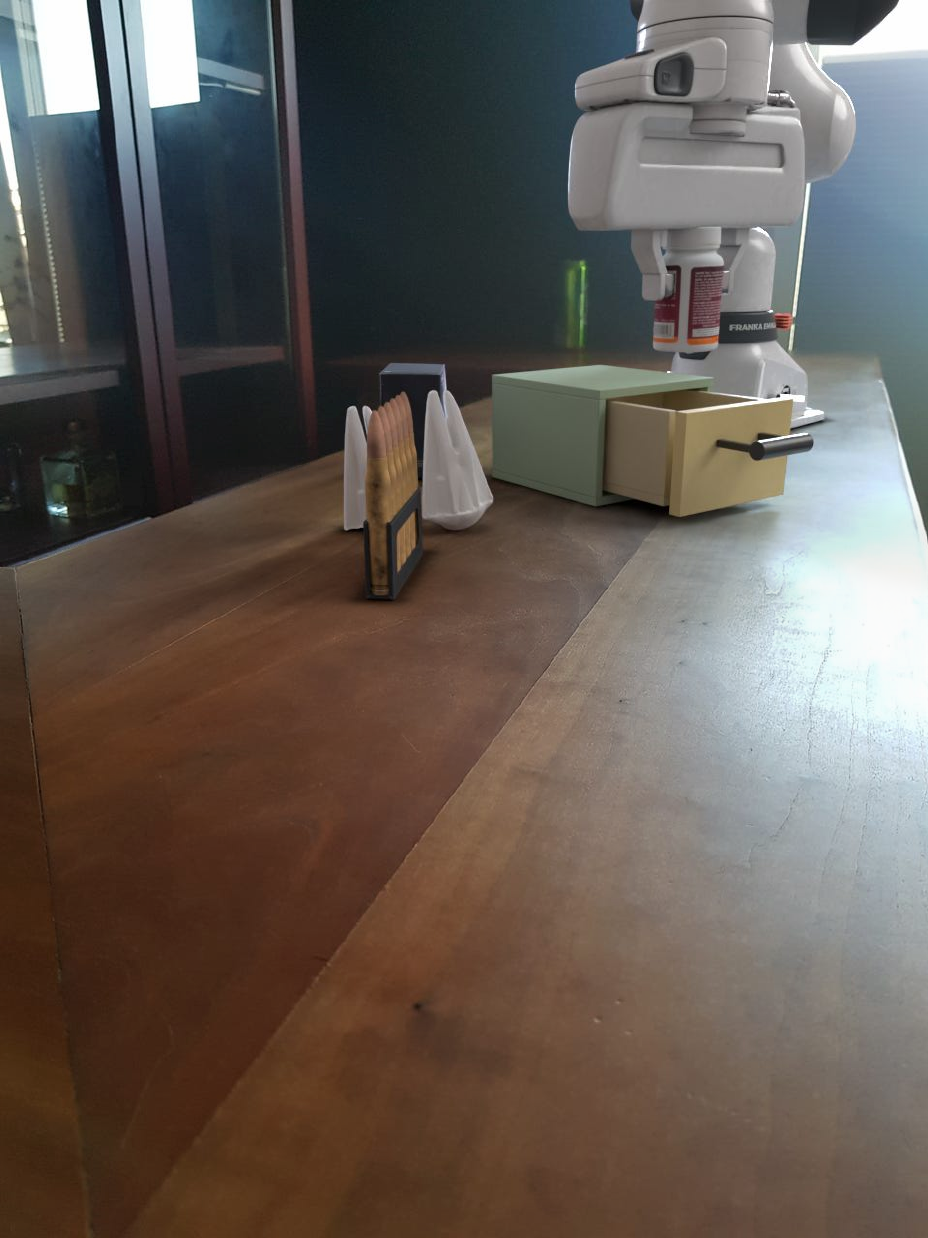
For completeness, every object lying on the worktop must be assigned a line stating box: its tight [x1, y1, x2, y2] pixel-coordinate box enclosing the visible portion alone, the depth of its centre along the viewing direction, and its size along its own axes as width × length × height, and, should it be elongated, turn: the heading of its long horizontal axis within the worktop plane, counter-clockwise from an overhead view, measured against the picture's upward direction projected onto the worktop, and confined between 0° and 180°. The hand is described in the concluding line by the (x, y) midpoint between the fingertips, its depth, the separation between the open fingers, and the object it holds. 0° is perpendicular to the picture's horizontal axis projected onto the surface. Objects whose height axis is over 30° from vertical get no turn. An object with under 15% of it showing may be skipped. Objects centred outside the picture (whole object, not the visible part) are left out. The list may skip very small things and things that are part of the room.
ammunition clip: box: [362, 392, 424, 601], centre depth 64 cm, size 11×2×12 cm, turn 172°
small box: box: [378, 362, 447, 479], centre depth 98 cm, size 11×6×10 cm, turn 179°
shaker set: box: [343, 389, 494, 531], centre depth 76 cm, size 12×4×11 cm, turn 81°
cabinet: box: [491, 364, 714, 507], centre depth 91 cm, size 16×14×10 cm
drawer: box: [602, 389, 815, 518], centre depth 82 cm, size 20×13×8 cm, turn 34°
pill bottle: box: [652, 227, 724, 353], centre depth 69 cm, size 5×5×8 cm
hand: (687, 298), depth 69 cm, fingers closed on pill bottle, 5 cm apart
